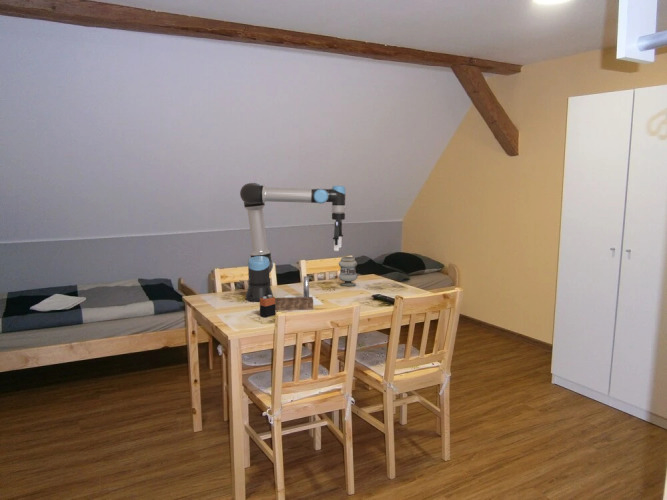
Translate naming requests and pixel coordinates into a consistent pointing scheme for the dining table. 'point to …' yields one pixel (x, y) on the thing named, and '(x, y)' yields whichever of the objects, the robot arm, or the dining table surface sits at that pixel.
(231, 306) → the dining table surface
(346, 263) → the apothecary jar
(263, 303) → the battery
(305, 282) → the pin
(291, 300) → the hole block
